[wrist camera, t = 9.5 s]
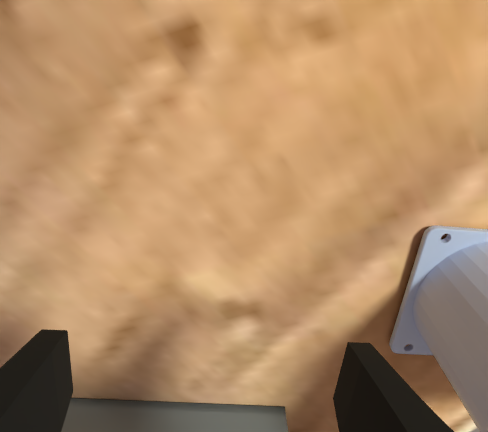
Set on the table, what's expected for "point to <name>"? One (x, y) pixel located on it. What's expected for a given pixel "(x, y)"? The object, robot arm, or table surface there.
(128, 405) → the bin
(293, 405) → the table surface
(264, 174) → the table surface
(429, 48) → the table surface
